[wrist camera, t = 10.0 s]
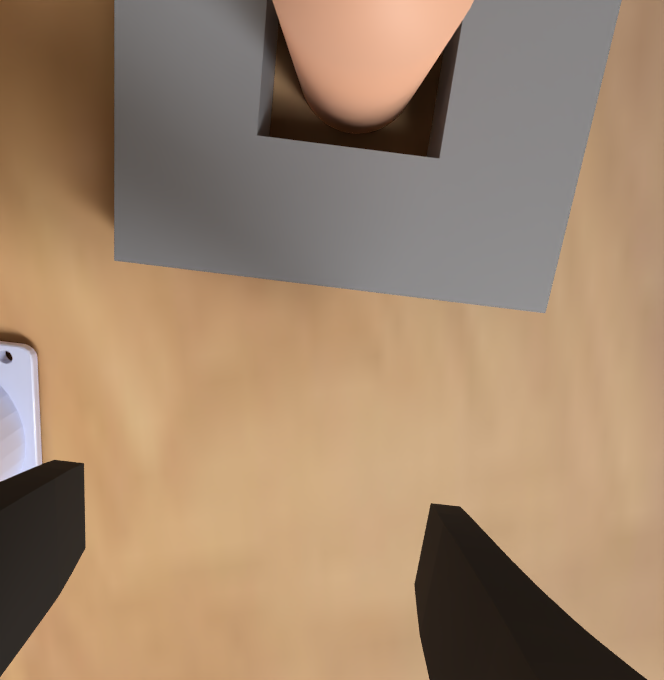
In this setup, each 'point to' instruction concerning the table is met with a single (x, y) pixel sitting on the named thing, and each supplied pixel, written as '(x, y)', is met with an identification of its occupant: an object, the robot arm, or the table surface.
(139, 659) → the table surface
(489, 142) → the hole board
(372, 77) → the peg
